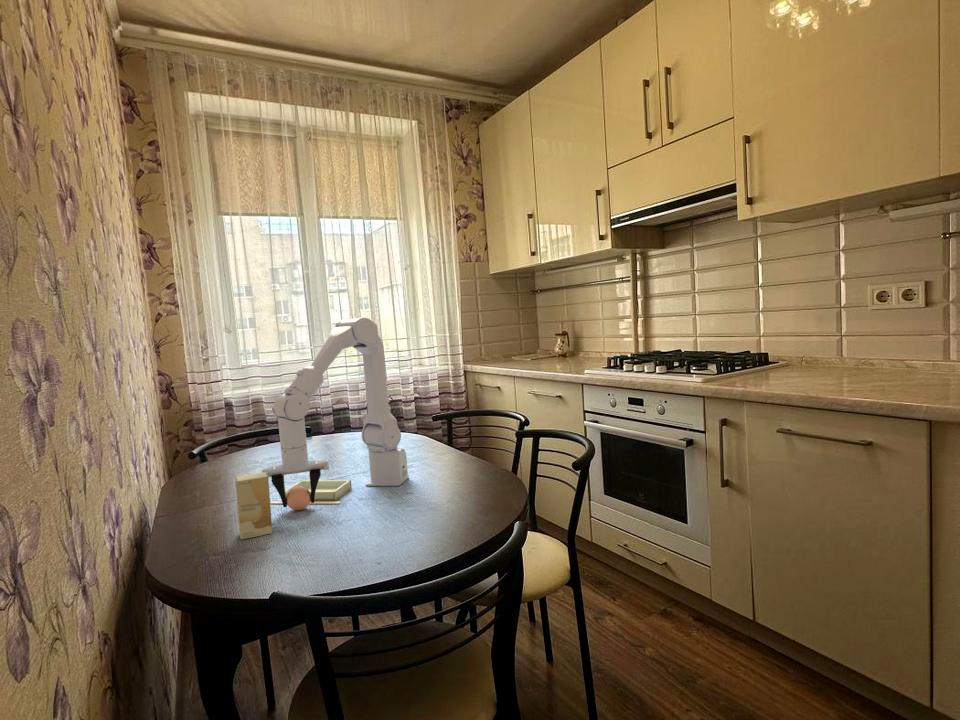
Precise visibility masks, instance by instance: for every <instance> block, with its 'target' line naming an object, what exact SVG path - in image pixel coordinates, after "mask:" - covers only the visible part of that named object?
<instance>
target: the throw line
mask: <svg viewBox="0 0 960 720" xmlns="http://www.w3.org/2000/svg"><path fill="white" fill-rule="evenodd" d="M340 504H341V501H338V500H336V501H314V503H311V501H310V503H309V505H340ZM270 505H283V503H282V500H281V501H278V500H277V501H276V500H275V501H270Z"/></svg>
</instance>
